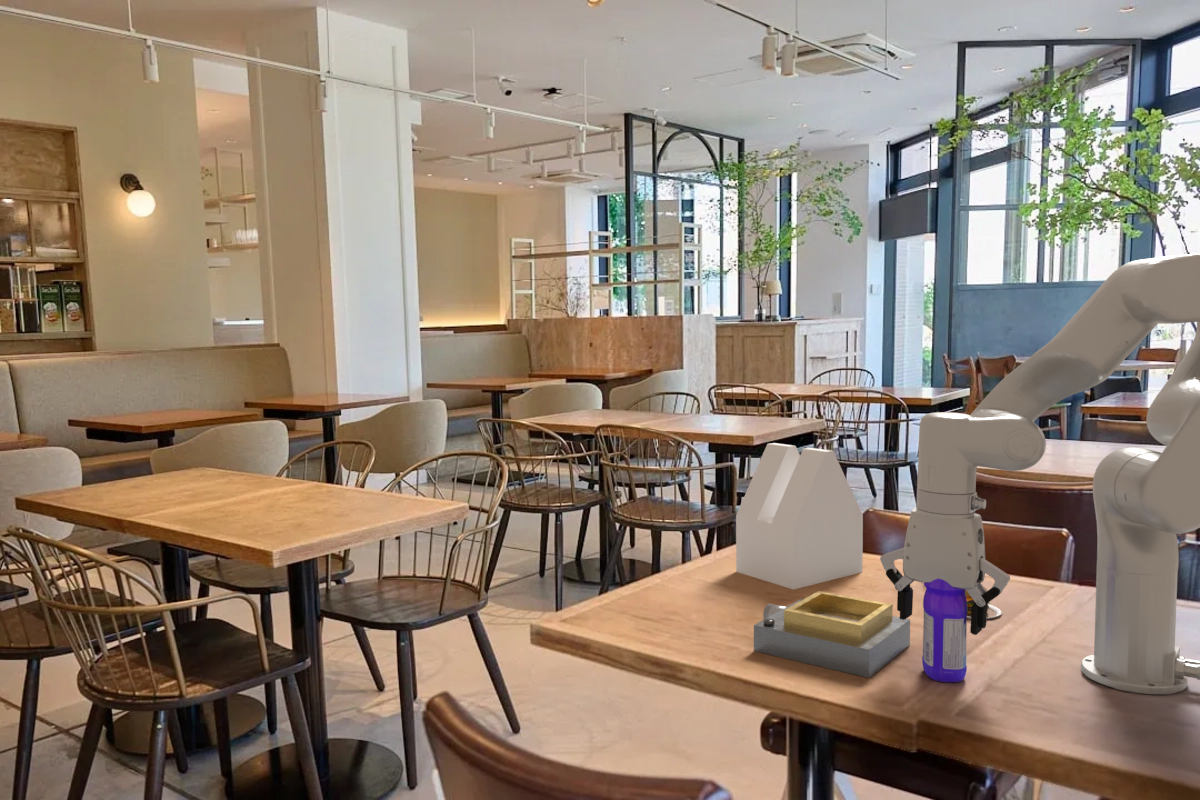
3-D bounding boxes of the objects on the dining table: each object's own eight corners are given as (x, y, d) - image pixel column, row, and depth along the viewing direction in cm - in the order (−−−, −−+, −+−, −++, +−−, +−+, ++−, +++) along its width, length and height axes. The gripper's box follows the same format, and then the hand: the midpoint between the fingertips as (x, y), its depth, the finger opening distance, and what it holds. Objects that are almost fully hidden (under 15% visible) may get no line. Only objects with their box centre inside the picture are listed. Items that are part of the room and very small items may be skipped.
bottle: (970, 686, 124) (973, 560, 122) (926, 684, 125) (928, 558, 124) (960, 666, 131) (962, 546, 129) (919, 664, 132) (920, 545, 131)
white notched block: (803, 557, 193) (804, 439, 191) (862, 572, 181) (863, 446, 179) (736, 572, 182) (735, 447, 180) (793, 590, 170) (793, 456, 168)
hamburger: (987, 632, 147) (988, 599, 146) (920, 614, 156) (921, 583, 156) (1025, 616, 154) (1026, 584, 154) (959, 600, 164) (959, 570, 163)
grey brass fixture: (909, 644, 140) (910, 603, 139) (869, 677, 127) (869, 632, 127) (779, 618, 153) (779, 580, 153) (730, 645, 141) (730, 604, 140)
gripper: (1019, 507, 124) (1013, 630, 125) (893, 491, 134) (889, 605, 136) (1004, 516, 118) (998, 645, 119) (873, 498, 128) (869, 618, 130)
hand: (940, 624), depth 127 cm, fingers open, 9 cm apart
